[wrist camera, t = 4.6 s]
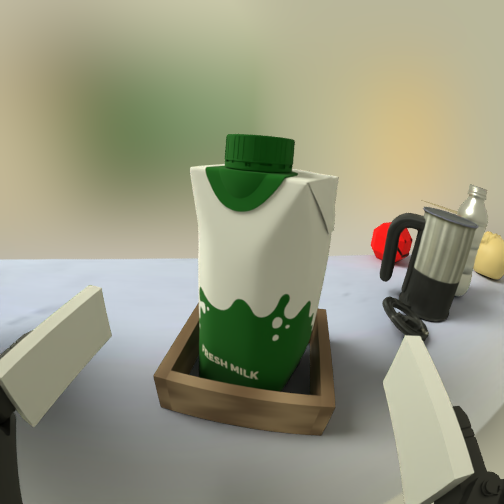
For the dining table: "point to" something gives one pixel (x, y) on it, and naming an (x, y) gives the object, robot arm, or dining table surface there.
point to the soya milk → (259, 260)
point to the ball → (380, 240)
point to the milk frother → (427, 267)
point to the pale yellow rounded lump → (490, 256)
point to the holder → (248, 388)
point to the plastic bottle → (477, 214)
